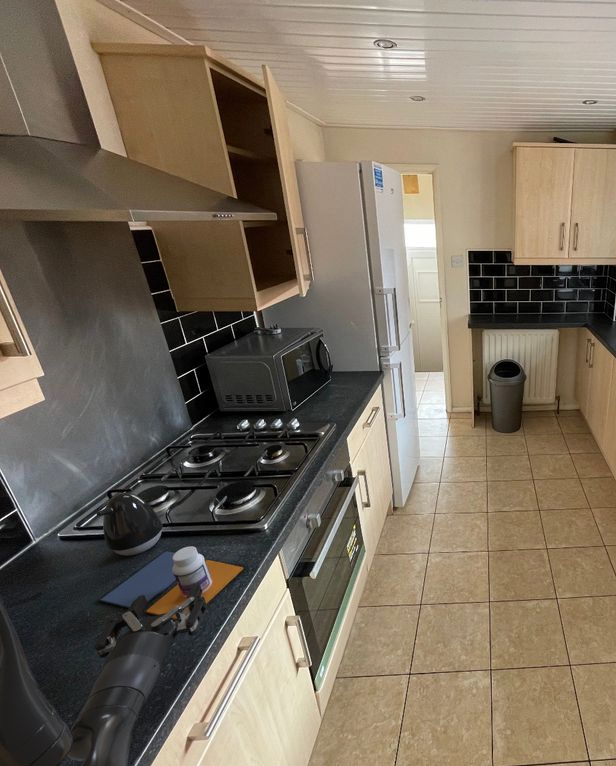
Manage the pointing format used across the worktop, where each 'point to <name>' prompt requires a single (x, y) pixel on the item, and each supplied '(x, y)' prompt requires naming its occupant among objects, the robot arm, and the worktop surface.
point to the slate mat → (144, 582)
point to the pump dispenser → (130, 524)
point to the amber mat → (220, 579)
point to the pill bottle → (190, 570)
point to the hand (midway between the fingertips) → (170, 592)
